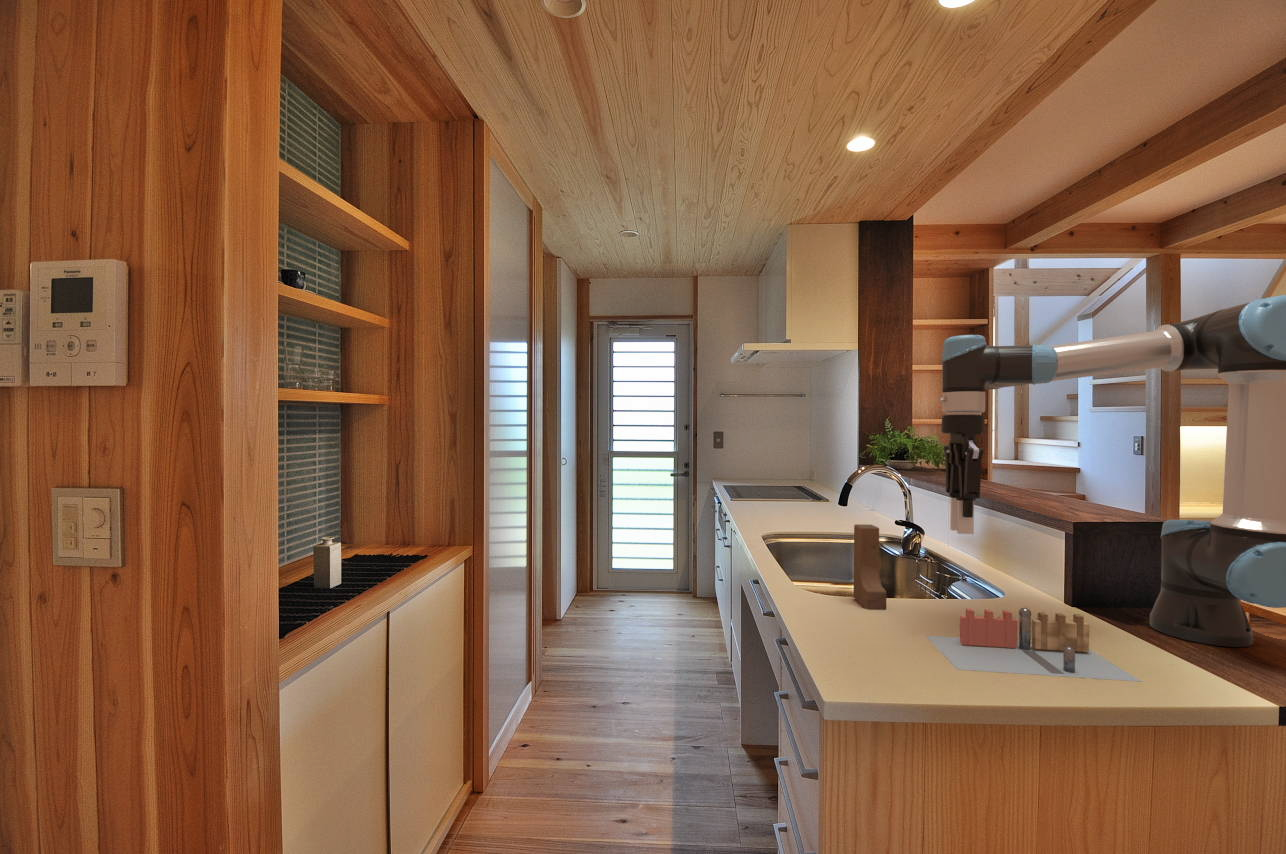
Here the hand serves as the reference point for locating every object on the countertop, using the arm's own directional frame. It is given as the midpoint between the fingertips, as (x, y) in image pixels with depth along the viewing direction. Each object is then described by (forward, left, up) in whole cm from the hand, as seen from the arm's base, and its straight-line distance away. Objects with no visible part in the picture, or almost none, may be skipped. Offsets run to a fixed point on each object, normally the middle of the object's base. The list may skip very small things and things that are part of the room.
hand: (961, 531), depth 116 cm
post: (-8, +7, -20) cm, 23 cm away
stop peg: (-11, +17, -20) cm, 28 cm away
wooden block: (+14, -17, -21) cm, 30 cm away
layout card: (-6, +11, -21) cm, 24 cm away
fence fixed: (-14, +7, -20) cm, 26 cm away
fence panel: (-2, +7, -20) cm, 21 cm away
